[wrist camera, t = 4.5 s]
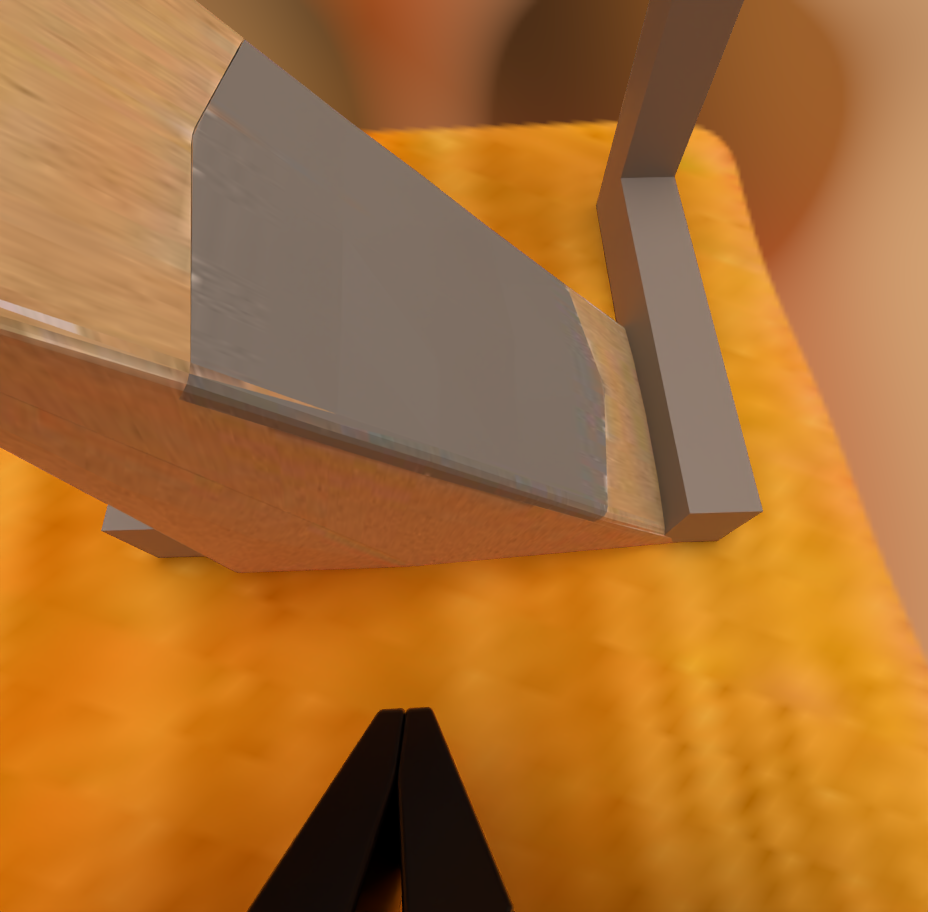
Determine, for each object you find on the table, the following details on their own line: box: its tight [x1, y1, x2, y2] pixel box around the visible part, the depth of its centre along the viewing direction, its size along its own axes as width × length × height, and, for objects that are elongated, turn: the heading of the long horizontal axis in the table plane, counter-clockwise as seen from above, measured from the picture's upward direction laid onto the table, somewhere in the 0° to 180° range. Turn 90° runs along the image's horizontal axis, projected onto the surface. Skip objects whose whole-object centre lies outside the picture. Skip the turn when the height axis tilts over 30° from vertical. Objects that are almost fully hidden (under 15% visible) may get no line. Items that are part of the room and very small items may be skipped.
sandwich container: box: [0, 0, 674, 573], centre depth 13 cm, size 9×15×15 cm, turn 94°
